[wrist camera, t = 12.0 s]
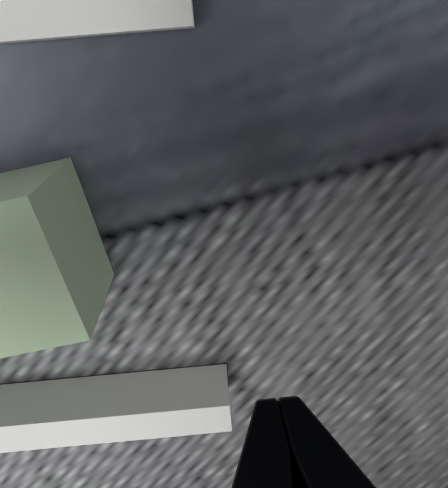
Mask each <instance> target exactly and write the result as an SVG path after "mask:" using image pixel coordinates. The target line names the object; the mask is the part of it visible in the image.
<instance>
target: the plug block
mask: <svg viewBox="0 0 448 488" xmlns="http://www.w3.org/2000/svg"><path fill="white" fill-rule="evenodd" d="M113 277H114V272H113V269H112V267H111V264H110V261H109V259H108V256H107V253H106V251H105V248H104V245H103V243H102V240H101V237H100V235H99V232H98V229H97V227H96V224H95V221H94V219H93V216H92V213H91V211H90V208H89V205H88V203H87V200H86V197H85V194H84V192H83V189H82V186H81V184H80V181H79V178H78V176H77V173H76V170H75V168H74V165H73V162H72V160H71V157H70V158H65V159H61V160H56V161H52V162H47V163H43V164H38V165H34V166H29V167H25V168H20V169H16V170H11V171H7V172H2V173H0V358H5V357H9V356H14V355H19V354H24V353H29V352H34V351H39V350H44V349H49V348H54V347H59V346H64V345H69V344H74V343H79V342H84V341H89V340H90V339H91V336H92V334H93V331H94V328H95V326H96V323H97V320H98V317H99V315H100V312H101V309H102V307H103V304H104V301H105V298H106V296H107V293H108V290H109V288H110V285H111V282H112V280H113Z"/></svg>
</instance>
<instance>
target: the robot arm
mask: <svg viewBox="0 0 448 488" xmlns="http://www.w3.org/2000/svg"><path fill="white" fill-rule="evenodd" d="M232 488H376V487H375V486H374V485H373V484H372V482H371V481H370V480H369V479H368V478H367V476H366V475H365V474H364V473H363V472H362V471H361V469H360V468H359V467H358V466H357V465H356V463H355V462H354V461H353V460H352V459H351V458H350V456H349V455H348V454H347V453H346V452H345V451H344V449H343V448H342V447H341V446H340V445H339V443H338V442H337V441H336V440H335V439H334V438H333V436H332V435H331V434H330V433H329V432H328V430H327V429H326V428H325V427H324V426H323V425H322V423H321V422H320V421H319V420H318V419H317V418H316V416H315V415H314V414H313V413H312V412H311V410H310V409H309V408H308V407H307V406H306V405H305V403H304V402H303V401H302V400H301V399H300V398H299V397H297V396H291V397H281V398H279V399H278V401H277V399H275V398H269V399H259V400H257V401H256V403H255V407H254V410H253V414H252V417H251V421H250V424H249V428H248V431H247V435H246V438H245V442H244V445H243V449H242V452H241V456H240V459H239V463H238V467H237V470H236V474H235V477H234V481H233V484H232Z"/></svg>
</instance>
